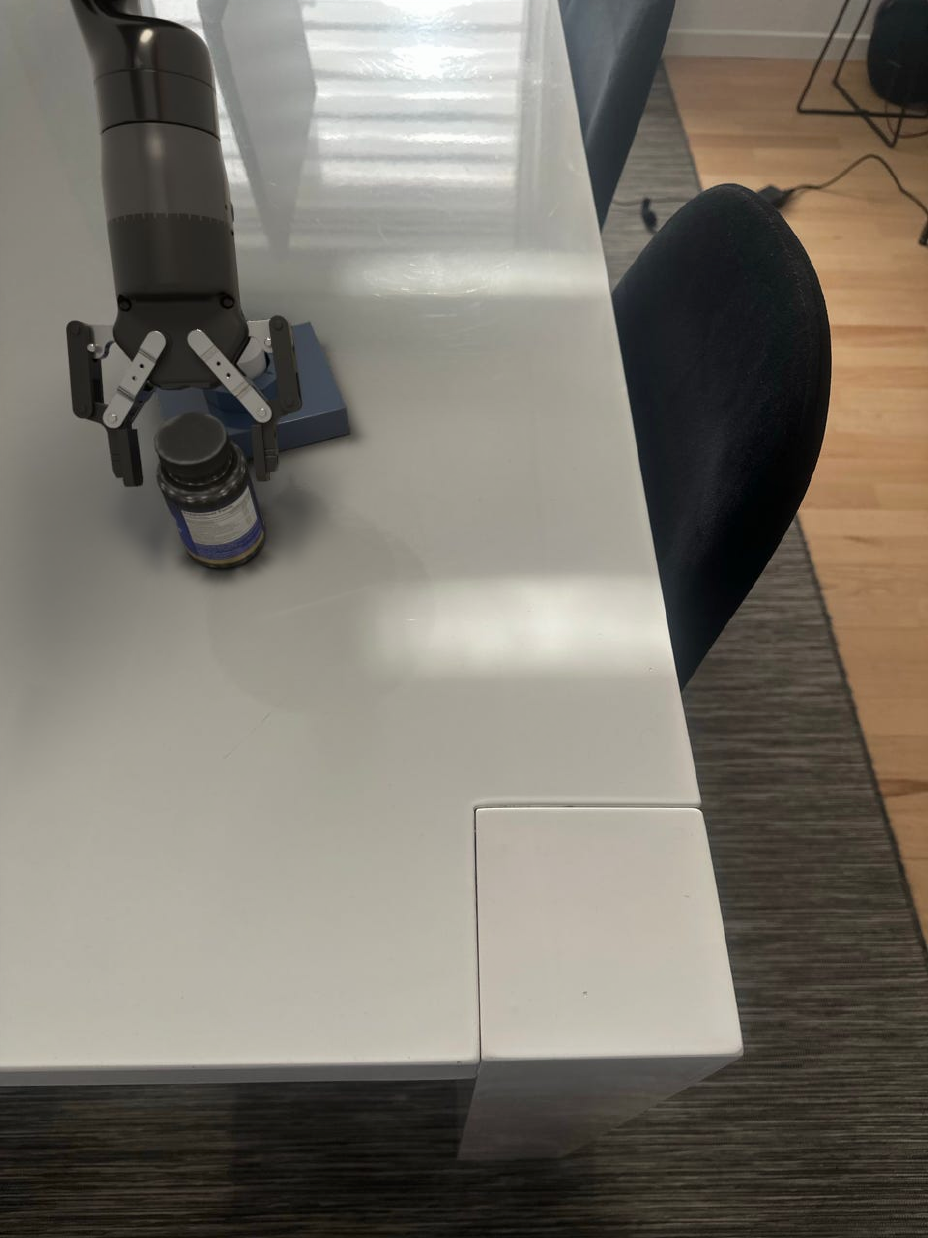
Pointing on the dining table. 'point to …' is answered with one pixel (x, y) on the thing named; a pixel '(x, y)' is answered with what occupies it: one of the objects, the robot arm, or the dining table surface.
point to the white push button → (253, 360)
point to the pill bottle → (208, 490)
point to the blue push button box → (308, 425)
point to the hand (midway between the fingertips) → (199, 483)
